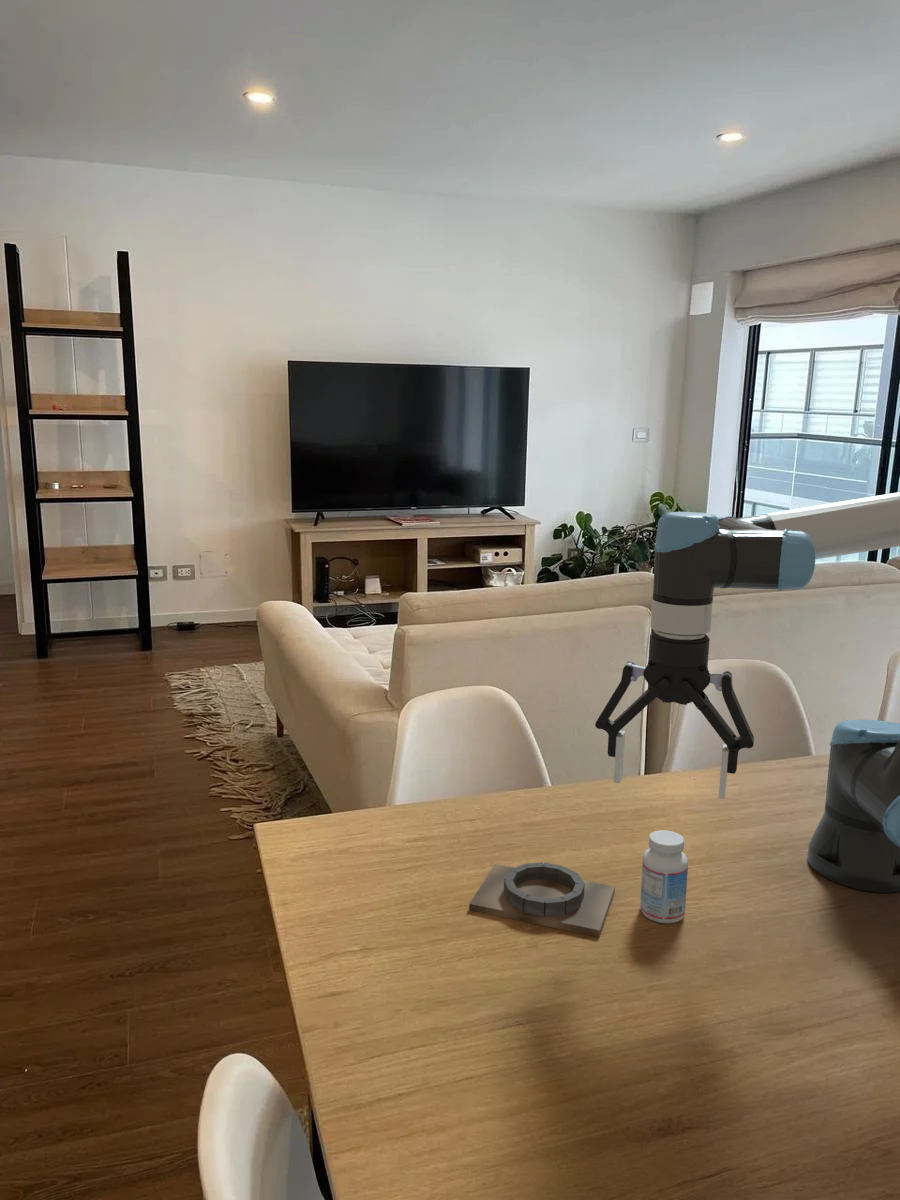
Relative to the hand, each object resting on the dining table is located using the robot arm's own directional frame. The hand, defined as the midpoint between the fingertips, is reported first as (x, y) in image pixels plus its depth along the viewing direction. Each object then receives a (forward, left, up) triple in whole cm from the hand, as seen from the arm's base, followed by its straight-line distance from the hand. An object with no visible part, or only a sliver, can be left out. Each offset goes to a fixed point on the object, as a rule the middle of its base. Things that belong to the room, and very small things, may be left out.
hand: (669, 787), depth 118 cm
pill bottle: (0, 0, -19) cm, 19 cm away
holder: (+16, +3, -18) cm, 24 cm away
